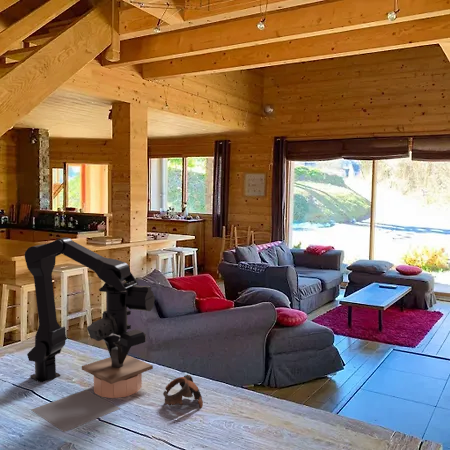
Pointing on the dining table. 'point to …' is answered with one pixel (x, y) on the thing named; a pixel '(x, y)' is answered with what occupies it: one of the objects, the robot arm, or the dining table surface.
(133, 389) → the terracotta bowl
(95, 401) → the felt mat
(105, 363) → the walnut lid
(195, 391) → the brown curved piece
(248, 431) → the dining table surface
